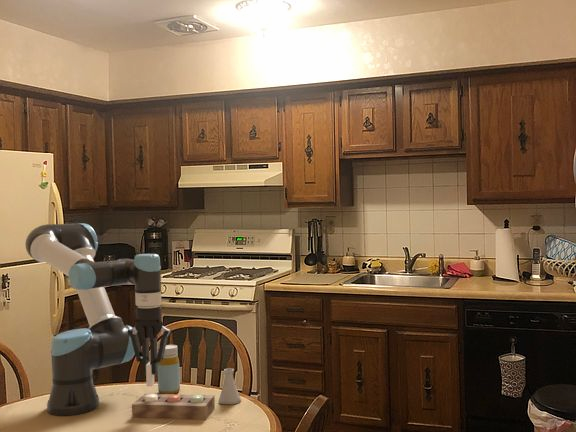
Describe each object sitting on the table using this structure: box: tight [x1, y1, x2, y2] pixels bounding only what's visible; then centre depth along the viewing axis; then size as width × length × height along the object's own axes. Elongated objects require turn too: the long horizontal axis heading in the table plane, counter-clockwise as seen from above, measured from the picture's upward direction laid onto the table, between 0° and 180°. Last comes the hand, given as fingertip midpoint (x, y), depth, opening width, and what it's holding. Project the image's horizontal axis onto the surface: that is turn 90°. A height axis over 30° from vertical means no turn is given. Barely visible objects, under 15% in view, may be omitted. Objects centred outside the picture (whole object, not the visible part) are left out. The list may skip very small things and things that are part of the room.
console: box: [131, 393, 216, 421], centre depth 183 cm, size 22×10×4 cm, turn 82°
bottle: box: [157, 344, 181, 394], centre depth 204 cm, size 7×7×15 cm
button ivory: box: [145, 393, 158, 402], centre depth 184 cm, size 4×4×4 cm
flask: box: [218, 368, 242, 405], centre depth 193 cm, size 7×7×10 cm
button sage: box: [190, 394, 203, 403], centre depth 182 cm, size 4×4×4 cm
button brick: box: [167, 394, 181, 402], centre depth 183 cm, size 4×4×4 cm
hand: (150, 384), depth 184 cm, fingers closed
